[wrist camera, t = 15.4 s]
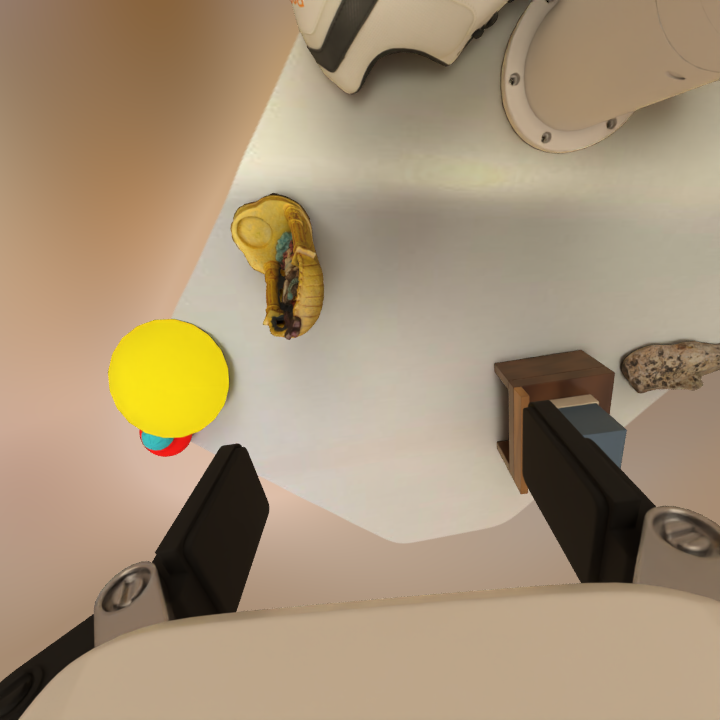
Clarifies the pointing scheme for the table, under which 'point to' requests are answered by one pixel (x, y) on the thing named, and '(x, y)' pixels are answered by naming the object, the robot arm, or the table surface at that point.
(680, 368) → the stone
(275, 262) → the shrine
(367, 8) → the running shoe
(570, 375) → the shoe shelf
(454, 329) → the table surface
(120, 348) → the toy
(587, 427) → the blue block
